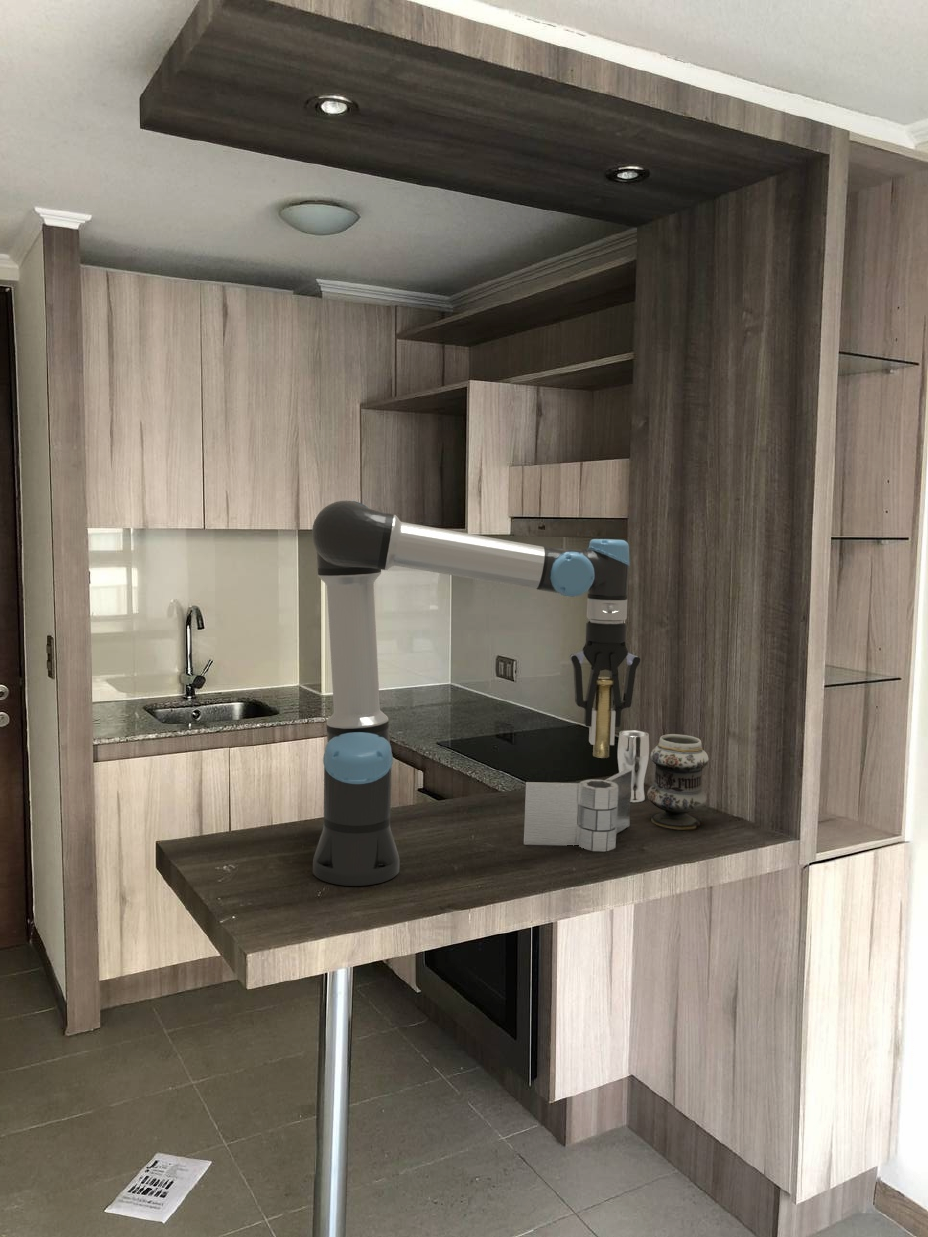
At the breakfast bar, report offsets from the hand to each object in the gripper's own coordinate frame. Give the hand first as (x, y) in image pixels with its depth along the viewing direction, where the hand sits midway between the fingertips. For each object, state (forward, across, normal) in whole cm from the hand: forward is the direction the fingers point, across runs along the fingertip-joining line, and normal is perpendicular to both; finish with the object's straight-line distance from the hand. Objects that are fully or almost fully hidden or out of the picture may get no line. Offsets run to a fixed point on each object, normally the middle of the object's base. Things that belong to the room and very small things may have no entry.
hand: (601, 743), depth 188 cm
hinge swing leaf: (+20, +3, +4) cm, 21 cm away
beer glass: (+20, +13, +32) cm, 40 cm away
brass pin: (+3, 0, 0) cm, 3 cm away
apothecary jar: (+20, +19, +15) cm, 32 cm away
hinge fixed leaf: (+20, -5, 0) cm, 21 cm away
